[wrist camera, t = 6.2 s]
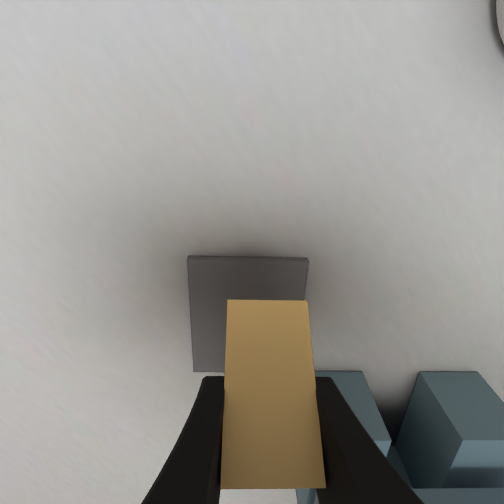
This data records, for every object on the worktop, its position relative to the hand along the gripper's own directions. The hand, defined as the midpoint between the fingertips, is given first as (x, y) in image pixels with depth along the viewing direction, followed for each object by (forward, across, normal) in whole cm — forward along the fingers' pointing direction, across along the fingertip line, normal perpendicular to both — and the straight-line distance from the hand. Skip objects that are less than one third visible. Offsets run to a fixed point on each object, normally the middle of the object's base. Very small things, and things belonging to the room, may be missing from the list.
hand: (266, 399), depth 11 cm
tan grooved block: (+4, 0, +1) cm, 4 cm away
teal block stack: (+8, -8, +10) cm, 16 cm away
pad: (+8, 0, +2) cm, 8 cm away
